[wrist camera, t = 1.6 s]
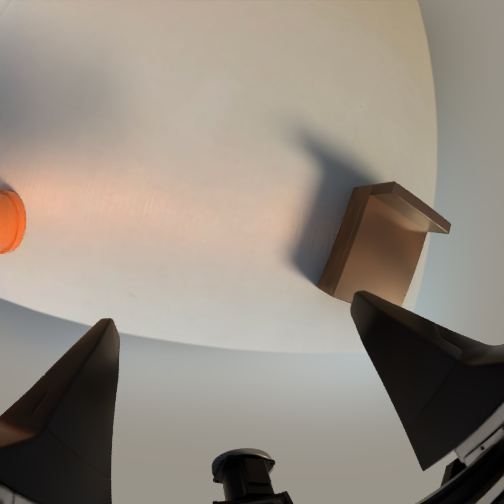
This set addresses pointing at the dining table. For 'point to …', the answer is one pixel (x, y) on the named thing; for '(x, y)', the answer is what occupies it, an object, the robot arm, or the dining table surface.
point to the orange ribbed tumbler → (11, 221)
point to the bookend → (379, 243)
